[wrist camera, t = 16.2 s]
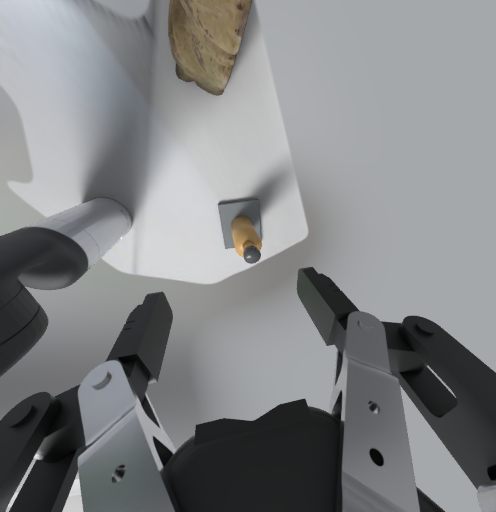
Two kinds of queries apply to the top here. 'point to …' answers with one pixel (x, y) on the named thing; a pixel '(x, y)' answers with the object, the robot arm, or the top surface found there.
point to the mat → (235, 210)
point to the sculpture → (206, 39)
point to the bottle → (246, 239)
